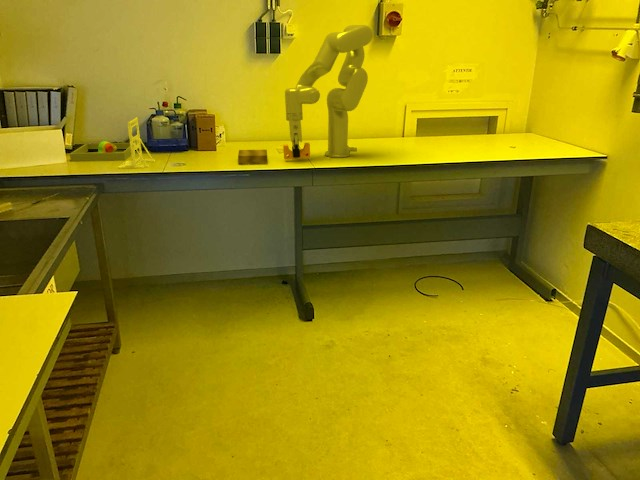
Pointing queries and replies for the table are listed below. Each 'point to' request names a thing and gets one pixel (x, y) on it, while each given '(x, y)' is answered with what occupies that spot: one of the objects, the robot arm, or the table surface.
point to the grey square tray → (83, 156)
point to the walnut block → (252, 157)
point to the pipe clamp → (303, 152)
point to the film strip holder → (135, 148)
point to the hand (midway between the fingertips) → (296, 155)
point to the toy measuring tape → (106, 147)
